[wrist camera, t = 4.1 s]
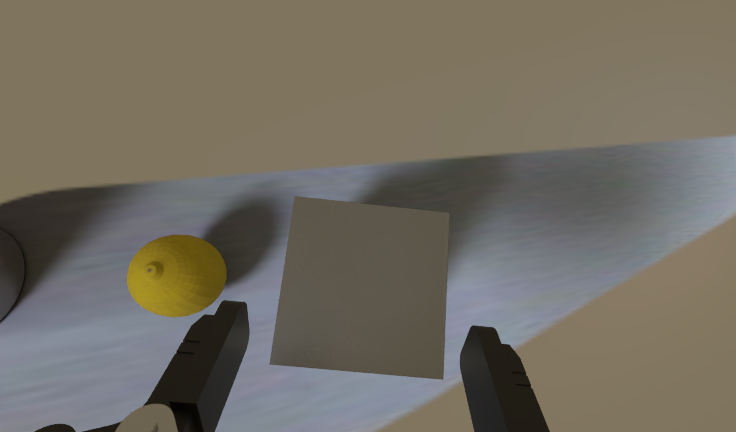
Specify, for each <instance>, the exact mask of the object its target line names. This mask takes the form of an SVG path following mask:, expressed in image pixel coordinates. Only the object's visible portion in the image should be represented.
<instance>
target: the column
mask: <svg viewBox="0 0 736 432" xmlns="http://www.w3.org/2000/svg"><path fill="white" fill-rule="evenodd" d="M449 216H450V213H447V212H438V211H428V210H419V209H410V208H400V207H391V206H381V205H372V204H363V203H353V202H344V201H334V200H325V199H315V198H306V197H297V196H295V198H294V205H293V212H292V218H291V225H290V232H289V238H288V245H287V252H286V258H285V265H284V272H283V278H282V285H281V292H280V299H279V305H278V312H277V319H276V325H275V332H274V339H273V345H272V352H271V359H270V364H272V365H283V366H295V367H306V368H318V369H329V370H340V371H352V372H363V373H374V374H386V375H397V376H409V377H420V378H431V379H443V373H444V347H445V320H446V294H447V268H448V242H449Z"/></svg>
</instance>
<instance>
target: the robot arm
mask: <svg viewBox="0 0 736 432" xmlns="http://www.w3.org/2000/svg"><path fill="white" fill-rule="evenodd" d="M23 279H24V259H23V255H22V251H21V250H20V248H19V246H18V244H17V242H16V241H15V240H14V239H13V238H12V237H11V236H10V235H9V234H8V233H6V232H5V231H3V230H1V229H0V320H1V319H2V318H3V317H4V316H5V315H6V314H7V313H8V312H9V310H10V309H11V307H12V306H13V304H14V303H15V301H16V300H17V297H18V295H19V293H20V290H21V288H22V284H23ZM248 341H249V322H248V312H247V304H246V303H245V302H236V301H226V300H224V301H222V302H221V304H220V306H219V307H218V309H217V311H216V313H215V315H203V316H202V317H201V318H200V319H199V320H198V321H197V322H195V323H194V324H193V325H192V326H191V328H190V329H189V331H188V333H187V334H186V336H185V338H184V340H183V343H181V345H180V346H179V348H178V350H177V353H176V354H175V355H174V357H173V358H172V360H171V362H170V363H169V365H168V367H167V369H166V370H165V372H164V374H163V375H162V377H161V379H160V381H159V382H158V384H157V386H156V387H155V389H154V391H153V393H152V394H151V396H150V398H149V399H148V401H147V402H146V403H145V404H144V405H143V407H141V408H139V409H137V410H135V411H134V412H132V413H131V414H129V415H128V416H127V417H126V418H125V419H124V420H123V421H121V422H119V423H116V424H113V425H109V426H105V427H101V428H96V429H92V430H88V431H83V432H215V429H216V427H217V424H218V421H219V419H220V416H221V414H222V411H223V408H224V406H225V403H226V401H227V398H228V395H229V393H230V390H231V388H232V385H233V383H234V380H235V377H236V375H237V372H238V370H239V367H240V364H241V362H242V359H243V357H244V354H245V351H246V349H247V345H248ZM460 369H461V374H462V379H463V383H464V387H465V392H466V396H467V401H468V405H469V410H470V413H471V419H472V423H473V427H474V431H475V432H550V431H549V429H548V426H547V424H546V421H545V419H544V416H543V414H542V412H541V409H540V406H539V404H538V401H537V399H536V396H535V394H534V392H533V389H532V388H531V384H530V382H529V379H528V377H527V376H526V372H525V369H524V367H523V364H522V362H521V359H520V357H519V356H518V355H517V354H516V352H515V351H514V350H513V349H512V348H511V346H510V345H508V344H501V342H500V339H499V336H498V333H497V331H496V329H495V328H493V327H484V326H471V328H470V330H469V333H468V335H467V338H466V341H465V343H464V346H463V348H462V351H461V355H460ZM35 432H76V431H75V430H74V429H73V428H72V427H71V426H69V425H66V424H54V425H49V426H46V427H43V428H41V429H39V430H37V431H35Z"/></svg>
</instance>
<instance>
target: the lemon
mask: <svg viewBox="0 0 736 432" xmlns="http://www.w3.org/2000/svg"><path fill="white" fill-rule="evenodd" d="M226 275H227V270H226V265H225V261H224V259H223V257H222V256H221V254H220V252H219V251H218V250H217V249H216V248H215V247H214V246H213V245H211V244H210V243H208V242H206V241H205V240H203V239H200V238H197V237H194V236H190V235H170V236H165V237H161V238H158V239H156V240H154V241H151V242H149V243H148V244H146V245H145V246H144V247H142V248H141V249H140V250H139V251H138V252H137V254H136V255H135V256H134V257H133V259H132V261H131V263H130V265H129V269H128V273H127V284H128V288H129V291H130V293H131V295H132V296H133V298H134V300H135V301H136V302H137V303H138V304H139V305H141V306H142V307H143V308H144V309H146V310H148V311H151V312H153V313H155V314H158V315H162V316H169V317H181V316H189V315H191V314H194V313H197V312H200V311H202V310H203V309H205V308H206V307H208V306H210V305H211V304H212V303H213V302H214V301H215V300H216V299H217V298H218V297H219V295H220V294H221V292H222V290H223V288H224V285H225V282H226Z"/></svg>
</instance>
